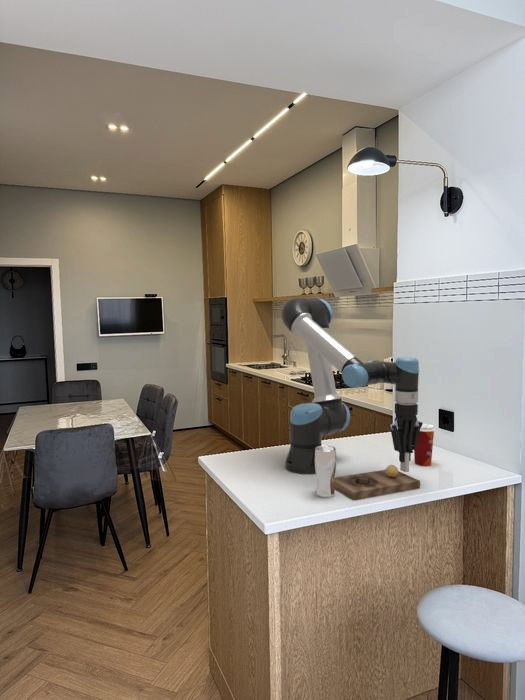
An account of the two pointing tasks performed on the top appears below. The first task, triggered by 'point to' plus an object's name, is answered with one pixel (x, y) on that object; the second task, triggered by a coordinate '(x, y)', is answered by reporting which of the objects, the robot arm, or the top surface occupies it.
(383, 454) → the top surface
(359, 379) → the robot arm
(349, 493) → the board
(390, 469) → the ball
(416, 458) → the coffee cup
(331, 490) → the beer glass
